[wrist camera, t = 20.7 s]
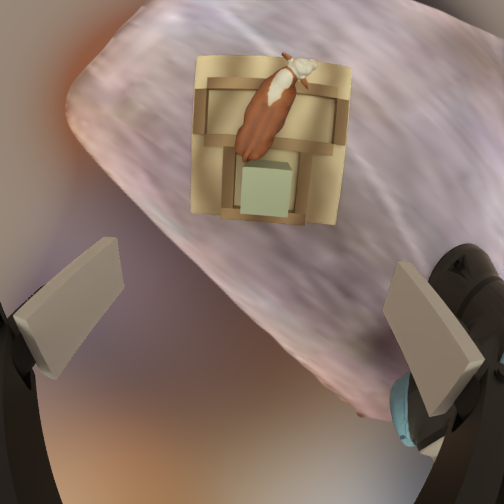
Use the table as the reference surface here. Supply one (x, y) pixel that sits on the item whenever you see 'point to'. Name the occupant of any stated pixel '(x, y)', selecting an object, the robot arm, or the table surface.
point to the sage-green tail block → (266, 188)
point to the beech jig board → (285, 142)
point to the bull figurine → (271, 108)
